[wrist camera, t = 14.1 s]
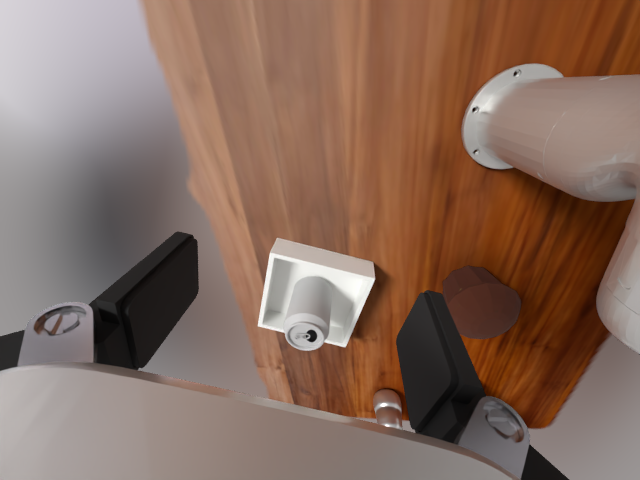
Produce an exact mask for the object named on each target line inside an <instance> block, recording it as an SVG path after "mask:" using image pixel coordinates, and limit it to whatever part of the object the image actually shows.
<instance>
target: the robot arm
mask: <svg viewBox="0 0 640 480" xmlns="http://www.w3.org/2000/svg"><path fill="white" fill-rule="evenodd" d="M514 72H515V73H516V74H515V76H513V75H514ZM473 108H475V110H474V111H473V112H472V109H473ZM461 130H462V141H463V145H464V147H465V149H466V151H467V153H468V154H469V155H470V157H471V158H472V159H473V160H475V161H476V162H478V163H479V164H481V165H483V166H485V167H489V168H492V169H509V168H514V167H515V168H517V169H519V170H521V171H523V172H525V173H527V174H529V175H531V176H533V177H535V178H537V179H539V180H541V181H543V182H545V183H547V184H549V185H551V186H553V187H555V188H557V189H560V190H562V191H564V192H566V193H568V194H570V195H572V196H575V197H578V198H581V199H585V200H590V201H600V202H614V201H623V200H630V199H635V202H634V204H633V207H632V210H631V212H630V214H629V216H628V219H627V221H626V227H625V229H624V231H623V234H622V236H621V238H620V240H619V243H618V245H617V247H616V249H615V252H614V254H613V256H612V258H611V260H610V263H609V265H608V267H607V269H606V272H605V274H604V277H603V279H602V281H601V284H600V287H599V290H598V293H597V298H596V306H597V311H598V314H599V317H600V319H601V321H602V322H603V324H604V325H605V327H606V328H607V329H608V330H609V331H610V332H611V333H612V334H613V335H614V336H615V337H616V338H617V339H618V340H619V341H621V342H622V343H623V344H625V345H626V346H627V347H629V348H630V349H632V350H633V351H635V352H636V353H638V354H639V355H640V74H639V75H615V76H589V77H564V76H563V75H562V74H561V73H560V72H558V71H557V70H556V69H554V68H552V67H550V66H547V65H542V64H525V65H519V66H515V67H512V68H509V69H507V70H505V71H503V72H501V73H499V74H497V75H496V76H494V77H493V78H492V79H490V80H489V81H488V82H486V83H485V84H484V85H483V86H482V87H481V89H480V90H479V91H478V92H477V93H476V94H475V96H474V97H473V99H472V100H471V102H470V104H469V106H468V108H467V109H466V112H465V115H464V118H463V122H462V129H461ZM474 150H476V151H475V152H474ZM473 152H474V153H473ZM198 289H199V286H198V246H197V240H196V239H194V237H193V235H190V234H187V233H182V232H176V233H174V234H173V235H172V236H171V237H169V238H168V239H167V240H166V241H165V242H163V244H161V245H160V246H159V247H157V248H156V249H155V250H154V251H153V252H151V253H150V254H149V255H148V256H147V257H145V258H144V259H143V260H142V261H140V262H139V263H138V264H137V265H136V266H134V267H133V268H132V269H131V270H130V271H128V272H127V273H126V274H125V275H123V276H122V277H121V278H120V279H119V280H117V281H116V282H115V283H114V284H113V285H111V286H110V287H109V288H108V289H107V290H106V291H104V292H103V293H102V294H101V295H100V296H98V297H97V298H96V299H95V300H93V301H92V302H91V303H90V304H89V305H87V304H84V303H81V302H67V303H61V304H58V305H54V306H51V307H49V308H47V309H44V310H42V311H41V312H39V313H38V314H36V315H35V316H34V317H33V318H32V319H31V320H30V321H29V322H28V324H27V326H26V328H25V330H22V331H19V332H15V333H11V334H8V335H4V336H0V480H569V479H568V478H567V477H566V476H564V475H563V474H562V473H561V472H560V471H559V470H558V469H557V468H555V467H554V466H553V465H552V464H551V463H550V462H549V461H548V460H546V459H545V458H544V457H543V456H542V455H541V454H540V453H539V452H537V451H536V450H535V449H534V448H533V447H532V446H531V445H530V434H529V432H528V428H527V426H526V425H525V423H524V421H523V420H522V418H521V417H520V416H519V415H518V413H517V412H516V411H515V410H514V409H513V408H511V407H510V406H509V405H508V404H506V403H505V402H503V401H502V400H500V399H497V398H495V397H490V396H486V394H485V392H484V389H483V387H482V385H481V383H480V380H479V378H478V376H477V373H476V371H475V369H474V366H473V364H472V362H471V359H470V357H469V355H468V353H467V350H466V348H465V346H464V343H463V341H462V339H461V336H460V334H459V332H458V330H457V327H456V325H455V323H454V320H453V318H452V316H451V313H450V311H449V309H448V306H447V304H446V302H445V300H444V297H443V295H442V294H441V293H437V292H433V291H429V290H426V291H425V292H424V293H420V294H419V296H418V298H417V300H416V302H415V304H414V305H413V307H412V309H411V311H410V313H409V315H408V317H407V319H406V320H405V322H404V324H403V326H402V328H401V330H400V332H399V334H398V336H397V340H396V345H397V350H398V356H399V362H400V368H401V374H402V379H403V385H404V391H405V397H406V403H407V409H408V414H409V420H410V425H411V428H412V429H414V430H415V432H416V433H413V432H409V431H405V430H401V429H397V428H393V427H389V426H385V425H380V424H376V423H372V422H367V421H363V420H359V419H354V418H350V417H346V416H341V415H337V414H333V413H328V412H324V411H320V410H315V409H311V408H307V407H302V406H298V405H293V404H289V403H285V402H280V401H276V400H271V399H267V398H262V397H258V396H253V395H249V394H245V393H240V392H236V391H231V390H226V389H222V388H217V387H213V386H208V385H204V384H199V383H195V382H190V381H186V380H180V379H177V378H172V377H167V376H163V375H158V374H153V373H147V372H142V371H138V368H139V367H140V368H143V367H144V366H145V365H146V364H147V363H148V362H149V360H150V359H151V357H152V356H153V355H154V353H155V352H156V351H157V349H158V348H159V347H160V345H161V344H162V343H163V341H164V340H165V339H166V337H167V336H168V334H169V333H170V331H171V330H172V329H173V328H174V326H175V325H176V323H177V322H178V321H179V320H180V318H181V317H182V315H183V314H184V313H185V311H186V310H187V309H188V307H189V306H190V305H191V303H192V302H193V301H194V299H195V298H196V296H197V294H198Z"/></svg>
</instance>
